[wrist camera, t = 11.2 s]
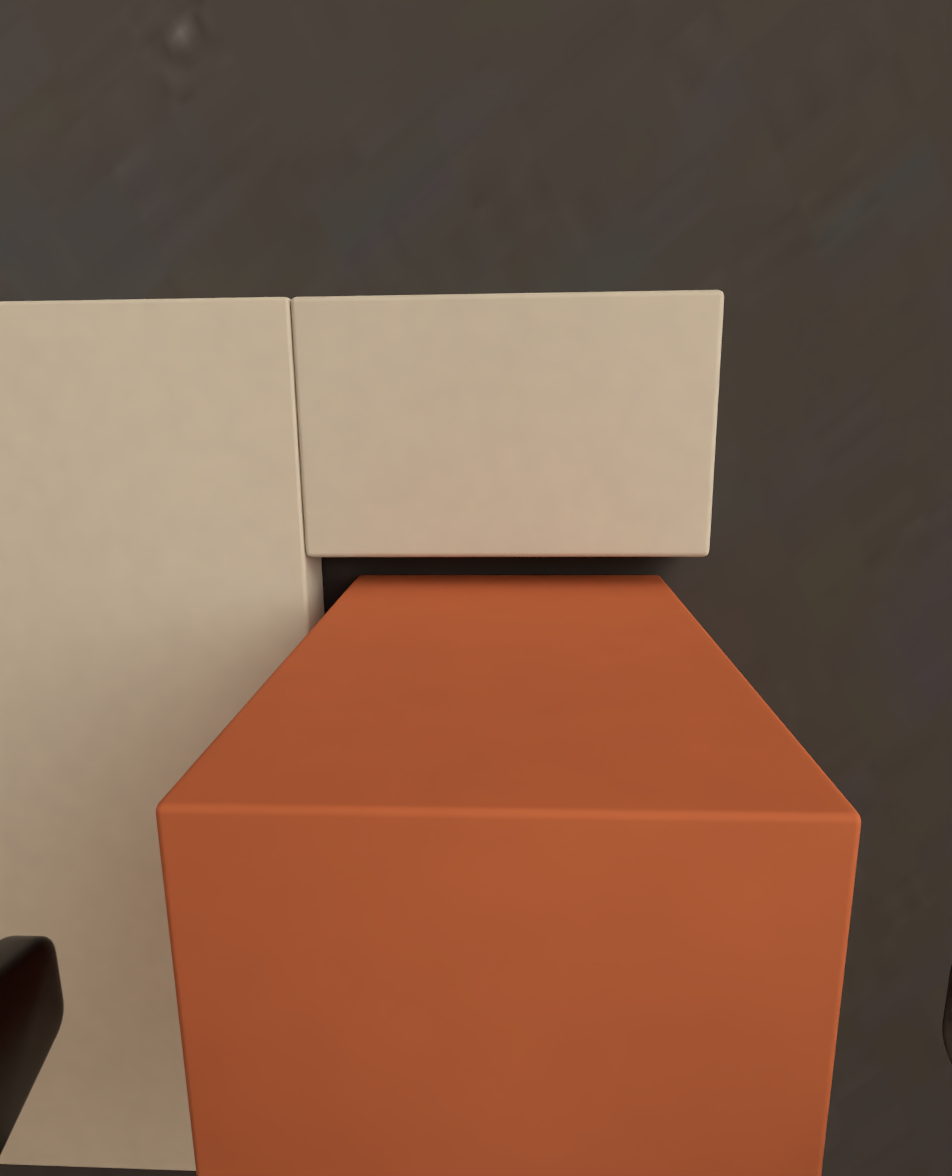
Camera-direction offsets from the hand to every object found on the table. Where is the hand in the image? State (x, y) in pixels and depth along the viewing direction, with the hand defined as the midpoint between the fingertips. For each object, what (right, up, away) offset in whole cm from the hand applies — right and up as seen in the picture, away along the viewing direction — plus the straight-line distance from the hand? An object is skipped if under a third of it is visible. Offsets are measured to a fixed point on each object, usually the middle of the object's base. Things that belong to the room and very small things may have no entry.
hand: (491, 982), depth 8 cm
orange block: (0, +1, +5) cm, 5 cm away
